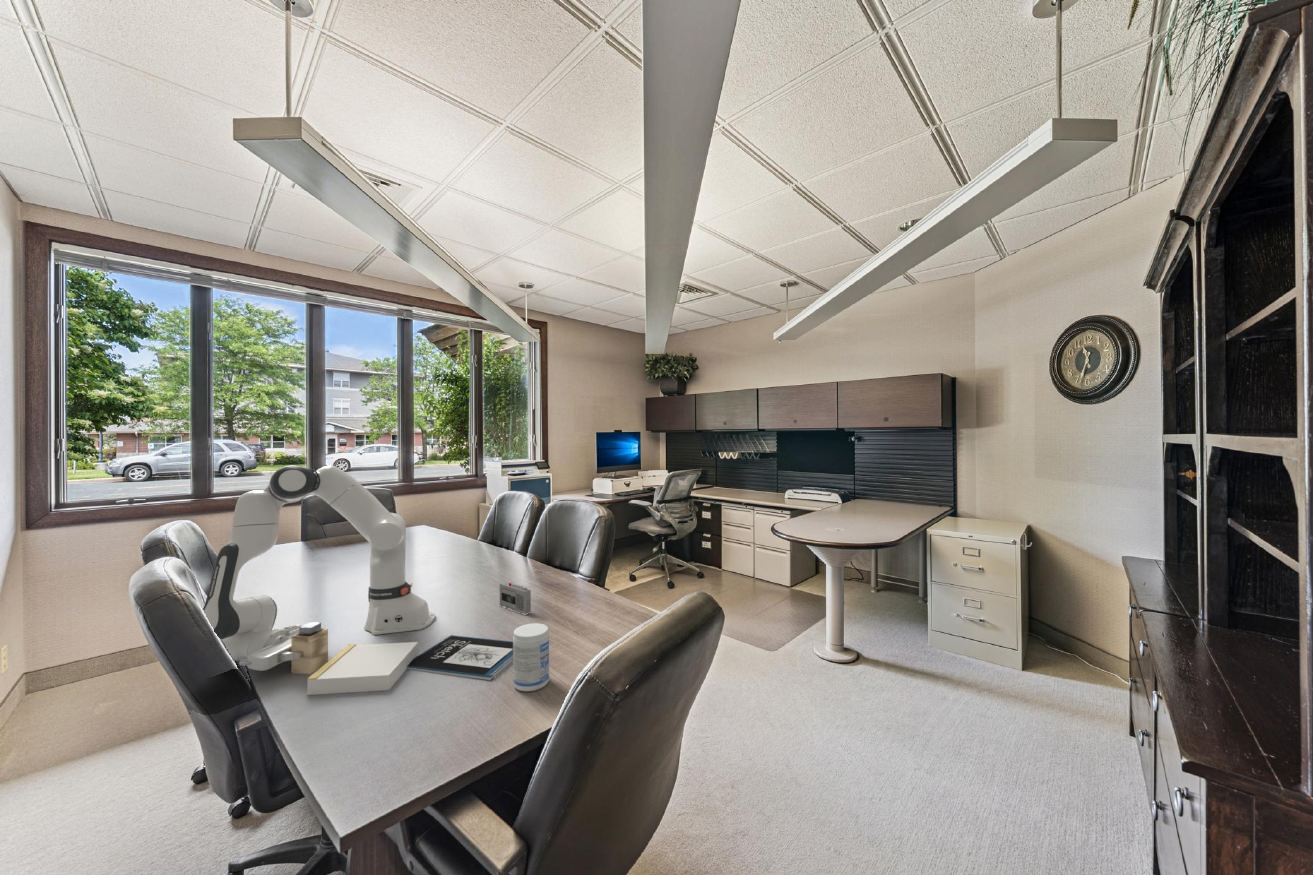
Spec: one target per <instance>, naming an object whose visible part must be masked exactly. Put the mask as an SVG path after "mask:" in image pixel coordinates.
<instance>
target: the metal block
mask: <svg viewBox="0 0 1313 875" xmlns="http://www.w3.org/2000/svg"><path fill="white" fill-rule="evenodd" d="M321 628H322V623H321V622H315V621H314V622H313V621H311V622H307V623H305V624H303V625H301V627H299V636H312V635H314V634H316V633H318V632H320V631H321Z"/></svg>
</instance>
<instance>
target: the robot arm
mask: <svg viewBox="0 0 1313 875" xmlns="http://www.w3.org/2000/svg"><path fill="white" fill-rule="evenodd" d="M308 495H310V496H312V495H313V496H316V497H319V498H320V499H322V500H323V501H324V502H325V503H327V504H328V505H329V506H330V507H331V508H332V509H333V510H335V511H336V512H338V514H340V515H341V516H342V517H343V518H345V520H347V522H349V523H350V524H351V526H353V527H354V529H355V530H356V531H357V533H359V534H360V535H361V536H362V537H363V538H364V539H365V540H366V541H367V542H368V543H369V544H370V561H369V586H368V591H367V592H368V594H367V598H368V611H367V617H366V620H365V624H364V630H366V631H368V632H370V633H371V634H372V635H374V636H375V635H376V636H377V635H382V634H383V635H386V634H395V633H403V632H411V631H418V630H422V629H425V628H427V627H428V626H429V625H430V626H431V624H432V623H433V622H434V621H435V619H436V616H437V615H436V613H435V612H430V609H429V604H428V602H427V601H426V600H425V599H423V598H422V597H419V595H417V594H415V593H413V592H412V587H413V583H410V584H409V583H408V582H407V581H406V554H407V553H406V544H407V543H406V542H407V541H406V540H407V539H406V538H407V537H406V536H407V535H406V534H407V533H406V530H407V525H406V521H405V519H404V518H403V516H401V515H400V514H398V513H396V512H395V513H394V512H390V511H389V510H388V509H387V508H386V507H385V506H384V505H383V503H381V501H380V500H378V498H377V497H376V496H375V495H374V494H372V493H371V492H370V491H369V490H368V489H367V488H366V487H364V486H363V485H362V483H360V482H359V481H358V480H356V479H355V478H354V477H352V476H351V475H350V474H348V473H347V472H345V470H342V469H341V468H339V467H337V466H336V465H332V464H331V465H325V466H322V467H320V468H318V469H317V470H316V469H312V468H310V467H309V468H308V467H305V466H299V465H292V464H291V465H286V466H285V465H284V466H283V467H280V468H279V469H277V470H276V471H274V473H273V474H272V475H271V477H270V479H269V481H268V485H267V486H266V488H263V489H253V490H251V491H250V490H249V491H246V492H245V493H243V494H241V495H240V496H239V497H238V499H237V502H236V504H235V508H234V510H233V511H234V512H233V517H232V524H231V525H232V526H231V533H230V537H229V538H228V541H227V543H226V545H224V546H223V547H222V548H220V549H219V551H218V554H217V556H216V559H215V563H214V566H213V570H212V574H211V578H210V583H209V586H208V591H207V595H206V600H205V603H204V605H203V608H202V610H204V613H205V614H206V617H207V618H208V620H209V622H210V624H211V626H212V627H213V629H214V632H215V633H216V634H217V636H218V637H219V638H220V639H221V640H222V641H223V643H224V644H225V646H226V649H228V651H229V653H230V654H231V656H232V658H233V660H232V661H236V662H239V663H238V664H239V666H244V667H245V666H246V667H247V669H250V670H253V671H257V672H264V671H267V670H270V669H272V668H275V667H276V666H278V665H280V664H281V663H284V662H288V661H292V660H293V659H294V660H298V659H300V658H302V657H303V651H297V652H291V636H293V635H295V634H297V633H299V627H301V626H302V624H293V625H289V626H286V627H283V628H282V627H281V628H275V629H273V628H274V625H275V623H276V619H277V616H278V606H277V604H276V601H275V600H274V599H273V598H272V597H271V596H268V595H258V596H252V597H251V596H250V597H246V598H241V599H236V600H234V596H235V591H236V586H237V582H238V579H239V578H238V577H239V573H240V571H241V569H242V568H243V567H244V566H245V565H246V564H247V563H248V562H250V561H251V560H253V559H254V558H257V557H259V556H261V555H262V556H263V554H265V553H267V552H268V551H269V550H271V549H272V548H273V547H274V546H275V545H276V543H277V541H278V540H279V534H280V513H281V510H282V508H283V507H286V506H289V505H293V504H296V503H297V504H298V502H301V501H303V500H304V499H305V498H306V497H307V496H308Z"/></svg>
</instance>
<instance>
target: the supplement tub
mask: <svg viewBox="0 0 1313 875" xmlns="http://www.w3.org/2000/svg"><path fill="white" fill-rule="evenodd" d="M512 642H513V664H512V670H513V672H512V676H513V677H512V678H513V679H512V680H513V686H514V687H515V689H517V690H518V691H521V692H535V691H538V690H540V689H542V688H544V687H545V686H546V685H547V684H548V682H549V681H550V632H549V627H548V626H547V625H546V624H543V623H538V622H536V623H535V622H533V623H527V624H526V623H525V624H523V625H520V626H518V627H516V628H515V629H514V631H513V636H512Z"/></svg>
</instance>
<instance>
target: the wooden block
mask: <svg viewBox="0 0 1313 875" xmlns="http://www.w3.org/2000/svg"><path fill="white" fill-rule="evenodd" d="M297 651H303V657H302V658H300V659H298V660H294V659H293V660H291V674H300V675H301V674H302V675H312V674H314V673H315V672H316V671H317V670H319V669H320V668H321V667H322V666H323V665H325V664H326V663H327V662H328V661H329V628H324V627H321V631H320V632H318V633H316V634H314V635H312V636H299V633H297V634H295V635H293V636H291V652H297Z"/></svg>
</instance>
